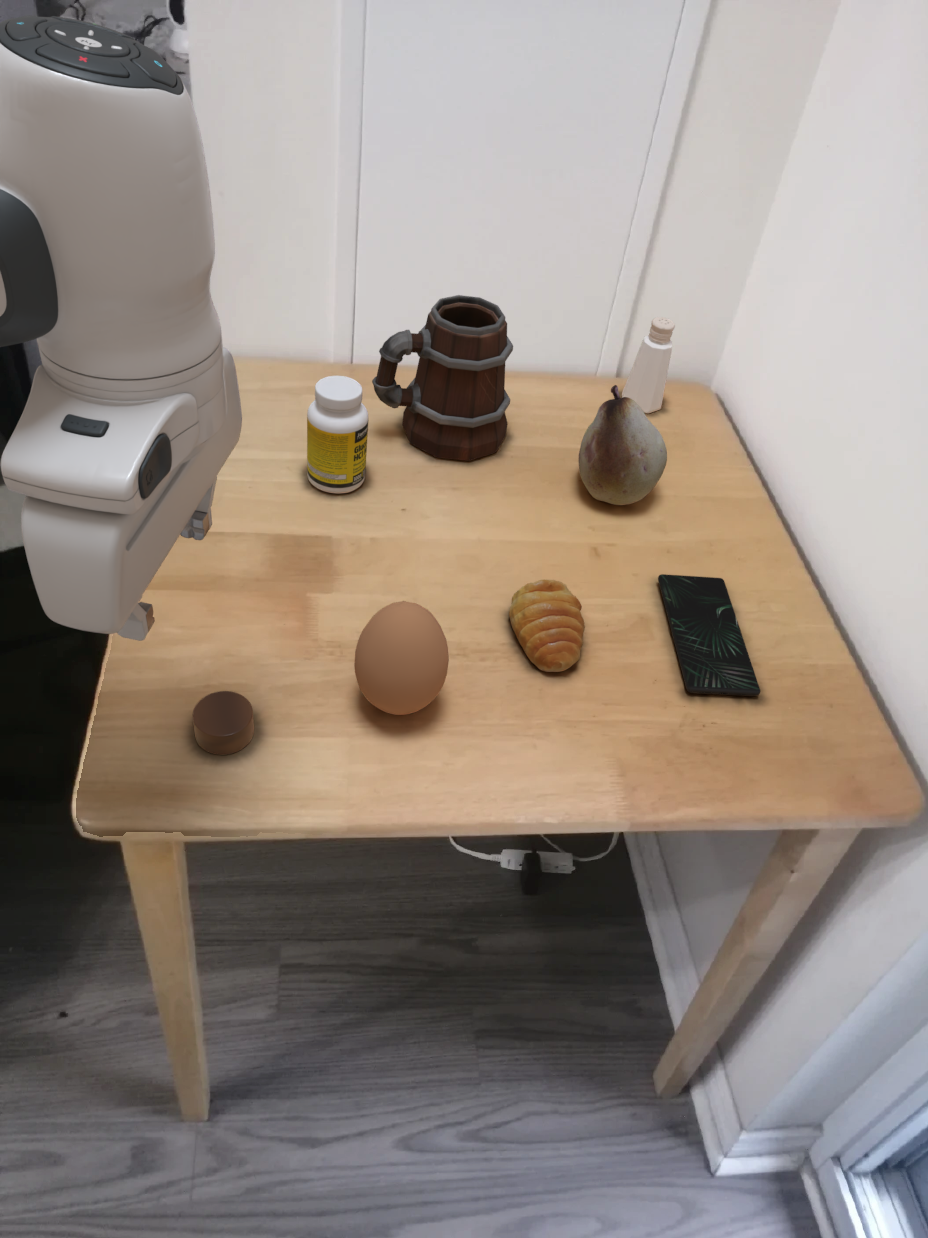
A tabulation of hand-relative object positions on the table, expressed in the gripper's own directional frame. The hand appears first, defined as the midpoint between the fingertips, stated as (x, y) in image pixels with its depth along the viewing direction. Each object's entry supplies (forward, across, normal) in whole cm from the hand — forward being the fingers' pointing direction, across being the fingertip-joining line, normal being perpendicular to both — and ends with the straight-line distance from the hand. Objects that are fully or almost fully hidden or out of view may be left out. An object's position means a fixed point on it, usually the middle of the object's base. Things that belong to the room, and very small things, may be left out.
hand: (167, 578), depth 59 cm
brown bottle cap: (+20, -4, +1) cm, 20 cm away
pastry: (+20, -22, +25) cm, 39 cm away
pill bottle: (+20, -39, 0) cm, 44 cm away
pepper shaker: (+20, -67, +33) cm, 77 cm away
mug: (+20, -51, +9) cm, 56 cm away
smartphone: (+20, -26, +40) cm, 52 cm away
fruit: (+20, -47, +30) cm, 59 cm away
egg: (+20, -10, +14) cm, 26 cm away
